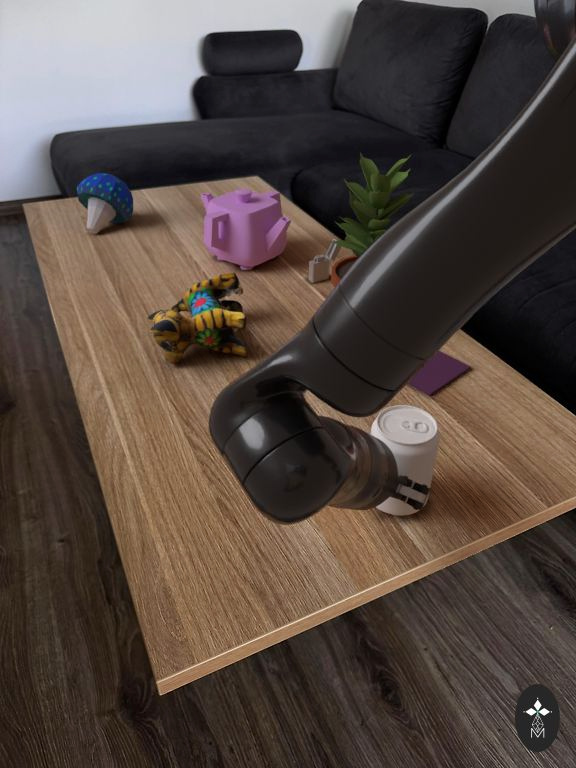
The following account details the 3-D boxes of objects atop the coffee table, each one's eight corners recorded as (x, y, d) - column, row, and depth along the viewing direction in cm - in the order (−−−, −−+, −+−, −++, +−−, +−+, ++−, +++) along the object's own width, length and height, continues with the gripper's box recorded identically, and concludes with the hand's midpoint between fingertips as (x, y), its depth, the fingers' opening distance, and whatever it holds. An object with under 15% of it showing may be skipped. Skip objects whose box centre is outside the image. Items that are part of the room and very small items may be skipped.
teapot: (204, 241, 140) (199, 177, 131) (280, 238, 142) (280, 174, 133) (206, 278, 125) (200, 209, 116) (291, 274, 127) (292, 205, 118)
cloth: (470, 369, 99) (470, 366, 99) (430, 396, 93) (430, 393, 93) (413, 340, 106) (413, 337, 106) (372, 363, 100) (372, 361, 100)
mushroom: (53, 207, 136) (80, 153, 140) (74, 236, 150) (98, 187, 153) (110, 225, 135) (135, 170, 139) (126, 253, 149) (148, 203, 152)
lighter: (312, 283, 124) (313, 247, 119) (308, 279, 125) (309, 244, 120) (340, 275, 126) (342, 240, 122) (336, 272, 128) (338, 237, 123)
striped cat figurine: (239, 330, 116) (146, 336, 112) (239, 268, 111) (142, 271, 106) (262, 369, 99) (153, 378, 94) (263, 298, 93) (148, 303, 89)
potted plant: (320, 296, 119) (327, 140, 101) (394, 293, 120) (414, 139, 102) (331, 336, 107) (341, 167, 89) (413, 332, 108) (439, 165, 90)
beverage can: (366, 468, 80) (374, 398, 73) (427, 477, 79) (441, 406, 72) (361, 513, 74) (369, 441, 67) (427, 523, 73) (442, 451, 66)
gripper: (430, 458, 52) (455, 474, 68) (303, 406, 58) (353, 431, 74) (397, 537, 52) (430, 534, 67) (273, 476, 58) (330, 487, 73)
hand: (390, 480), depth 71 cm, fingers closed
